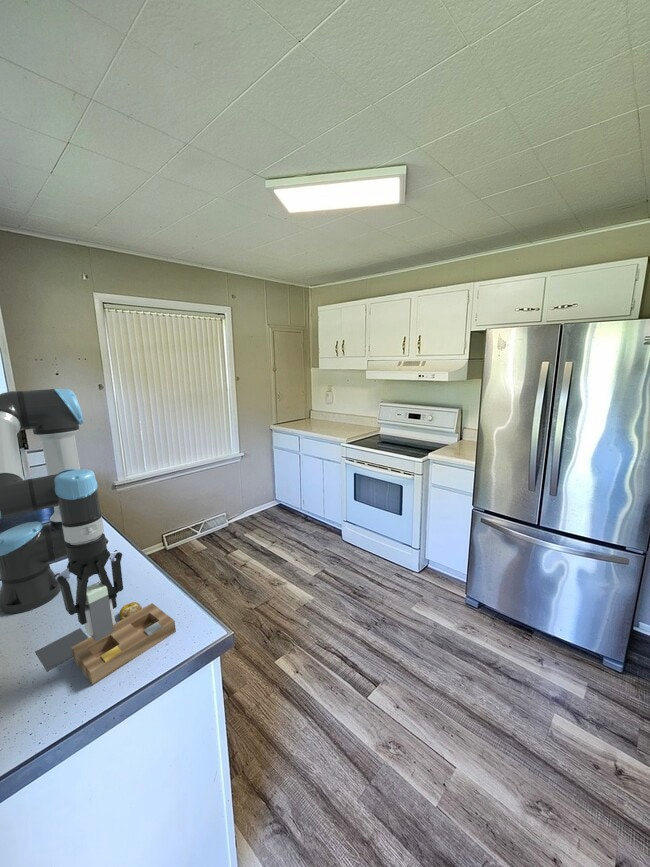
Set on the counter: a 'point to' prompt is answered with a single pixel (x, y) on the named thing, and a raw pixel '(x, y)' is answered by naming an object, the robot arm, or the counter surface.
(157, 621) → the socket block
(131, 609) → the fruit
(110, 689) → the counter surface
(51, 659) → the mat
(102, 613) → the plug
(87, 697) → the counter surface
